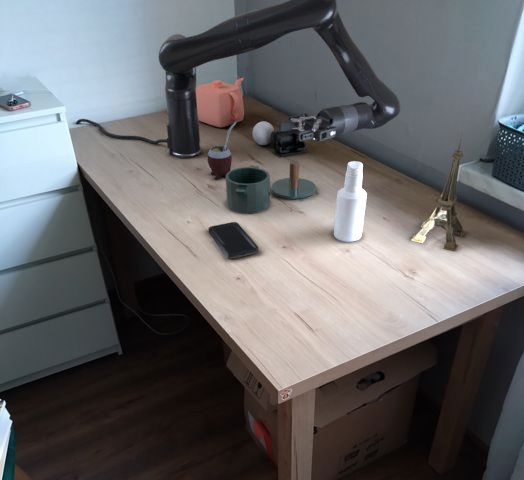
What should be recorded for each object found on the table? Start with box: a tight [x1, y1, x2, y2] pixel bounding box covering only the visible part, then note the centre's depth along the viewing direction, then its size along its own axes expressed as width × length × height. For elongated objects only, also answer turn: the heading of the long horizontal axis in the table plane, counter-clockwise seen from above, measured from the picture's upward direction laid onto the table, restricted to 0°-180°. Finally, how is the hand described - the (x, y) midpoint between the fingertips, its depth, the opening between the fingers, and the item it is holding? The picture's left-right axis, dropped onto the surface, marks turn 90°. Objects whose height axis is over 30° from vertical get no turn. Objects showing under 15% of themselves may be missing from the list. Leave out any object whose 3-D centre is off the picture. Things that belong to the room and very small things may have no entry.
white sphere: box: [250, 120, 275, 146], centre depth 181 cm, size 10×7×7 cm
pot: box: [225, 165, 271, 215], centre depth 146 cm, size 11×17×8 cm
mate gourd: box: [207, 121, 238, 181], centre depth 158 cm, size 8×8×15 cm
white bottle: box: [333, 160, 368, 243], centre depth 129 cm, size 7×7×18 cm
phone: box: [208, 221, 259, 260], centre depth 132 cm, size 8×1×15 cm
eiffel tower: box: [410, 132, 467, 252], centre depth 126 cm, size 11×11×25 cm
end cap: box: [270, 129, 307, 157], centre depth 175 cm, size 10×7×7 cm
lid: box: [270, 160, 317, 200], centre depth 152 cm, size 13×13×8 cm
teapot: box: [196, 77, 245, 128], centre depth 197 cm, size 20×19×14 cm
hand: (289, 132), depth 143 cm, fingers open, 8 cm apart
